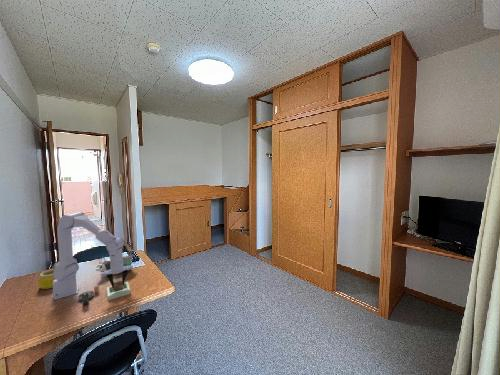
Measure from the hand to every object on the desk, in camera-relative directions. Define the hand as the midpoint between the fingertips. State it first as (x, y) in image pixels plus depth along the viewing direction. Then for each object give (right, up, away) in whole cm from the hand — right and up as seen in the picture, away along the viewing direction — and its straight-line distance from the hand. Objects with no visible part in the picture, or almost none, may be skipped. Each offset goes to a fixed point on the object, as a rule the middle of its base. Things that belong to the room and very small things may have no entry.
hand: (118, 285), depth 115 cm
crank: (-13, -4, -6) cm, 15 cm away
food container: (-10, -2, +23) cm, 25 cm away
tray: (0, -4, 0) cm, 4 cm away
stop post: (-12, -4, +1) cm, 13 cm away
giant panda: (-20, -2, +21) cm, 29 cm away
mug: (-42, -4, +8) cm, 43 cm away
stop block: (0, -2, 0) cm, 2 cm away
